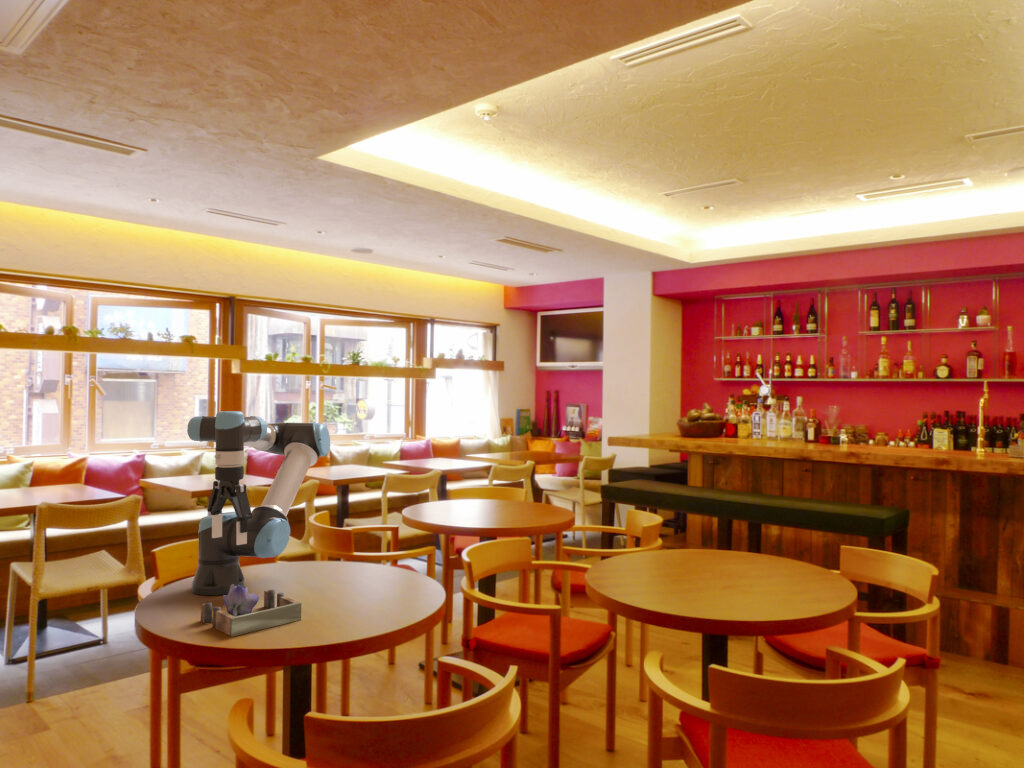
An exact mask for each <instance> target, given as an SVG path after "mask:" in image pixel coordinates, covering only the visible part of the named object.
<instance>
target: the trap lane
mask: <svg viewBox="0 0 1024 768" xmlns="http://www.w3.org/2000/svg"><path fill="white" fill-rule="evenodd" d="M275 591H276V590H275V589H268V590H264V591H263V607H264V608H266V607H267V608H266V609H263V610H259V611H254V612H251V613H249V614H245V615H241V614H240V615H237V616H236V617H234V616H233V615H231V614H228V613H227V611H226V612H225V611H224V610H221V609H222V608H221V607H222V606H213V603H212V602H206V603H201V604H200V622H202V621H204V622H203V623H204V624H205V623H210V624H212V629H216V628H217V629H216V630H218V629H219V630H218V631H220V630H221V631H220V632H222V631H223V633H224V634H226V635H228V636H230V637H232V638H233V637H236V636H240V635H245V634H248V632H249V633H252V631H253V632H257V631H261V630H265V629H269V628H273V627H277V626H281V625H285V624H288V623H289V624H290V623H292V622H293V623H294V622H298V621H301V620H302V602H300V601H298V600H294V599H292V598H289V597H287V596H285V593H284V592H279V593H277V594H275V593H276V592H275ZM275 598H276V601H275ZM275 603H276V604H275ZM275 605H276V607H275ZM260 629H261V630H260ZM256 630H257V631H256Z"/></svg>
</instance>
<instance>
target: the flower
mask: <svg viewBox="0 0 1024 768" xmlns="http://www.w3.org/2000/svg"><path fill="white" fill-rule="evenodd" d="M259 598H260V597H259V596H258V594H256V592H254V593H249V587H248V586H245V587H244V588H243V587H242V586H240V585H238V587H237V586H234V584H232V585H231V586H230V590H229V593H228V594H222V601H223V603H224V607H225V609H226V613H228V614H230V615H232V616H234V617H236V616H239V615H240V616H241V615H245V614H249V613H253V612H252V611H253V609H254V608H255V607H256V606H257V603H258V602H259Z"/></svg>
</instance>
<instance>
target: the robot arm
mask: <svg viewBox="0 0 1024 768" xmlns="http://www.w3.org/2000/svg"><path fill="white" fill-rule="evenodd" d="M186 431H187V435H188V437H189V439H190V440H191V441H194V442H208V443H209V442H210V443H215V449H214V450H215V453H214V454H215V455H214V458H215V462H214V463H215V465H216V466H215V468H214V470H215V471H214V478H215V480H214V481H213V482H212V483H213V485H212V490H211V493H210V494H211V495H210V498H209V501H208V506H207V508H206V509H207V512H208V513H210V515H206V516H203V517H202V518H201V519H200V520H199V524H198V531H197V532H198V565H197V568H196V571H195V574H194V577H193V580H192V582H191V592H192V594H194V593H195V594H194V595H198V594H200V596H219V595H228V593H229V590H230V586H231V585H232V584H234V586H237V587H238V585H240V586H242V587H243V588H245V587H246V586H245V584H246V583H245V581H246V580H245V576H244V574H243V570H242V567H241V564H240V557H247V558H248V557H250V558H253V557H254V558H260V559H266V558H275V557H278V556H279V555H281V554H282V553H283V552H284V551H285V550H286V548H287V546H288V544H289V542H290V535H291V527H290V526H291V525H290V523H289V519H288V517H287V515H288V514H289V511H290V509H291V507H292V504H294V501H295V498H296V497H297V494H298V493H299V490H300V488H301V486H302V483H303V482H304V479H305V477H306V475H307V473H308V471H309V469H310V467H313V466H314V465H316V464H317V462H318V460H319V457H321V458H324V457H327V456H328V455H329V454H330V453H329V452H330V449H331V436H330V432H329V430H328V427H327V425H325V424H324V423H322V422H321V423H319V422H277V423H276V422H275V423H267V422H266V421H265V420H264V418H262V417H260V416H256V415H250V416H245V415H244V412H243V411H240V410H237V411H236V410H230V411H229V410H227V411H218V412H216V414H215V416H213V415H212V416H211V415H210V416H209V415H208V416H205V415H202V416H201V415H199V416H193V417H191V418H190V419H189V421H188V423H187V429H186ZM245 447H250V448H251V447H252V448H253V449H255V450H256V451H258V452H264V453H270V454H274V455H278V456H279V455H280V456H285V457H284V460H283V461H282V464H281V465H280V467H279V469H278V470H277V471H278V472H276V475H275V477H274V479H273V481H272V483H271V485H270V487H269V489H268V491H267V493H266V494H265V497H264V498H263V501H262V502H261V504H260V505H258V506H256V507H254V508H253V509H252V510H251V506H250V501H249V498H248V493H247V484H245V483H244V484H240V480H243V479H244V476H245V475H244V474H245V473H244V471H245V469H244V468H245V467H244V466H243V465H244V463H245V450H244V448H245ZM227 500H228V501H229V502H230V503H231V504H232V507H233V510H234V511H229V512H223V508H224V506H225V504H226V502H227Z"/></svg>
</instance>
